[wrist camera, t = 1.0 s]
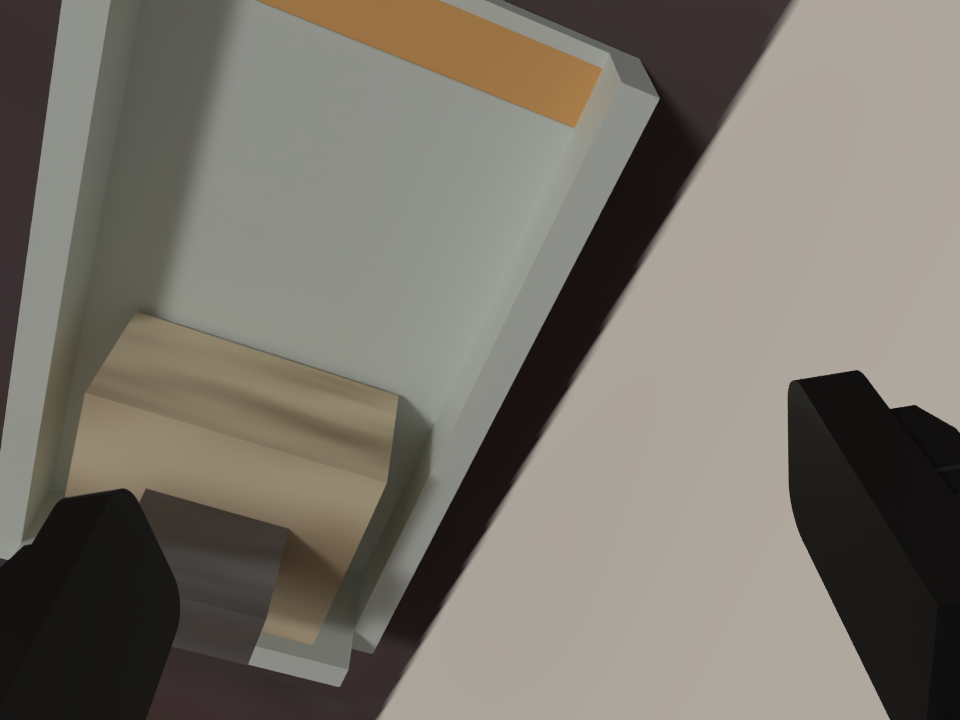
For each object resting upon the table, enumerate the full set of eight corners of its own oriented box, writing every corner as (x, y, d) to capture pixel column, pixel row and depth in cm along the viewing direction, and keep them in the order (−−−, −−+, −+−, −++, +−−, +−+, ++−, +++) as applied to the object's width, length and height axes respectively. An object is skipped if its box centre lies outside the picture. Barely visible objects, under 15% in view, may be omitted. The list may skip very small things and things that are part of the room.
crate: (136, 311, 33) (32, 477, 25) (398, 395, 35) (375, 572, 27) (97, 485, 37) (-1, 669, 30) (331, 550, 39) (294, 738, 32)
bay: (134, -157, 25) (48, -136, 20) (639, 58, 29) (672, 122, 24) (28, 486, 39) (-39, 593, 34) (381, 583, 42) (367, 693, 37)
